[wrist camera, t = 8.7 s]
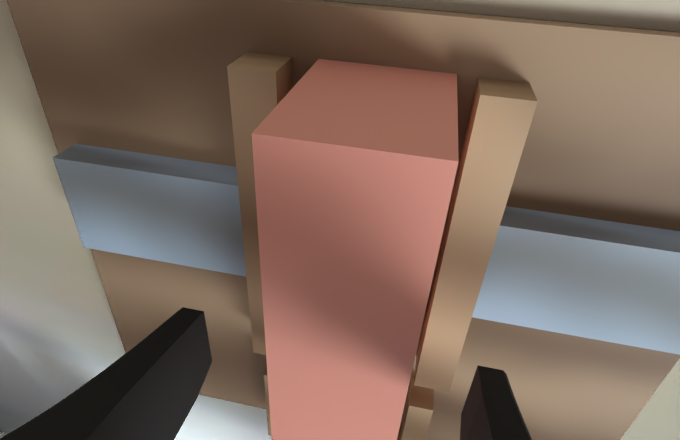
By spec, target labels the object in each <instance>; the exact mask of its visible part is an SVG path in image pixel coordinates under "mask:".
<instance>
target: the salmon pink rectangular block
mask: <svg viewBox="0 0 680 440" xmlns="http://www.w3.org/2000/svg"><path fill="white" fill-rule="evenodd" d="M252 146H253V161H254V177H255V192H256V207H257V223H258V238H259V253H260V268H261V284H262V299H263V314H264V330H265V345H266V360H267V376H268V391H269V406H270V422H271V437H272V440H397V437H398V432H399V428H400V423H401V419H402V414H403V410H404V405H405V401H406V396H407V392H408V387H409V383H410V378H411V374H412V369H413V365H414V360H415V356H416V351H417V347H418V342H419V338H420V333H421V329H422V324H423V320H424V315H425V311H426V306H427V302H428V297H429V293H430V288H431V284H432V279H433V275H434V270H435V266H436V261H437V257H438V252H439V248H440V243H441V239H442V234H443V230H444V225H445V221H446V216H447V212H448V207H449V203H450V198H451V194H452V189H453V185H454V180H455V176H456V171H457V167H458V162H459V155H458V104H457V74H453V73H443V72H434V71H425V70H416V69H407V68H398V67H389V66H380V65H371V64H362V63H353V62H343V61H334V60H325V59H318V60H317V61H316V62H315V64H314V65H313V66H312V67H311V68H310V69H309V70H308V71H307V72H306V74H305V75H304V76H303V77H302V78H301V79H300V80H299V81H298V82H297V84H296V85H295V86H294V87H293V88H292V89H291V90H290V91H289V92H288V94H287V95H286V96H285V97H284V98H283V99H282V100H281V101H280V102H279V104H278V105H277V106H276V107H275V108H274V109H273V110H272V111H271V113H270V114H269V115H268V116H267V117H266V118H265V119H264V120H263V121H262V123H261V124H260V125H259V126H258V127H257V128H256V129H255V130H254V131H253V133H252Z"/></svg>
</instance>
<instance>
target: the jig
mask: <svg viewBox="0 0 680 440" xmlns="http://www.w3.org/2000/svg"><path fill="white" fill-rule="evenodd" d="M7 2H8V5H9V8H10V11H11V14H12V17H13V20H14V23H15V26H16V29H17V32H18V35H19V38H20V41H21V44H22V47H23V50H24V53H25V56H26V59H27V62H28V65H29V68H30V71H31V73H32V76H33V79H34V82H35V85H36V88H37V91H38V94H39V97H40V100H41V103H42V106H43V109H44V112H45V115H46V118H47V121H48V124H49V127H50V130H51V133H52V136H53V139H54V142H55V145H56V148H57V151H58V155H57V156H55V157H53V160H54V163H55V166H56V169H57V172H58V175H59V177H60V180H61V183H62V186H63V189H64V192H65V195H66V198H67V200H68V203H69V206H70V209H71V212H72V215H73V218H74V221H75V223H76V226H77V229H78V232H79V235H80V238H81V241H82V244H83V247H84V248H90V249H91V251H92V254H93V257H94V260H95V263H96V266H97V269H98V272H99V275H100V278H101V281H102V284H103V287H104V290H105V293H106V296H107V299H108V302H109V305H110V308H111V311H112V314H113V317H114V320H115V323H116V326H117V329H118V332H119V335H120V337H121V340H122V343H123V346H124V349H125V352H126V353H127V352H128V351H129V350H131V349H132V348H133V347H134V346H136V345H137V344H138V343H139V342H141V341H142V340H143V339H144V338H146V337H147V336H148V335H149V334H150V333H152V332H153V331H154V330H155V329H157V328H158V327H159V326H160V325H161V324H163V323H164V322H165V321H166V320H167V319H169V318H170V317H171V316H172V315H174V314H175V313H176V312H177V311H178V310H180V309H181V308H183V307H184V308H190V309H195V310H200V311H204V315H205V321H206V327H207V332H208V338H209V344H210V350H211V356H212V363H211V366H210V368H209V371H208V373H207V376H206V378H205V381H204V383H203V385H202V388H201V390H200V392H199V394H200V395H204V396H209V397H213V398H218V399H223V400H227V401H232V402H236V403H241V404H245V405H250V406H254V407H259V408H263V409H267V421H268V434H269V435H271V422H270V406H269V391H268V376H267V360H266V345H265V330H264V314H263V299H262V284H261V268H260V253H259V238H258V223H257V207H256V192H255V177H254V161H253V146H252V133H253V131H254V130H255V129H256V128H257V127H258V126H259V125H260V124H261V123H262V121H263V120H264V119H265V118H266V117H267V116H268V115H269V114H270V113H271V111H272V110H273V109H274V108H275V107H276V106H277V105H278V104H279V102H280V101H281V100H282V99H283V98H284V97H285V96H286V95H287V94H288V92H289V91H290V90H291V89H292V88H293V87H294V86H295V85H296V84H297V82H298V81H299V80H300V79H301V78H302V77H303V76H304V75H305V74H306V72H307V71H308V70H309V69H310V68H311V67H312V66H313V65H314V64H315V62H316V61H317V60H318V59H325V60H334V61H343V62H353V63H362V64H371V65H380V66H389V67H398V68H407V69H416V70H425V71H434V72H443V73H453V74H457V104H458V155H459V162H458V167H457V171H456V176H455V180H454V185H453V189H452V194H451V198H450V203H449V207H448V212H447V216H446V221H445V225H444V230H443V234H442V239H441V243H440V248H439V252H438V257H437V261H436V266H435V270H434V275H433V279H432V284H431V288H430V293H429V297H428V302H427V306H426V311H425V315H424V320H423V324H422V329H421V333H420V338H419V342H418V347H417V351H416V356H415V360H414V365H413V369H412V374H411V378H410V383H409V387H408V392H407V396H406V401H405V405H404V410H403V414H402V419H401V423H400V428H399V432H398V437H397V440H460V427H461V413H462V410H463V407H464V404H465V401H466V398H467V395H468V392H469V390H470V387H471V384H472V381H473V378H474V375H475V372H476V369H477V366H478V365H479V366H484V367H489V368H494V369H499V370H503V371H504V372H505V373H506V374H507V377H508V380H509V383H510V386H511V389H512V391H513V394H514V397H515V399H516V402H517V404H518V407H519V410H520V412H521V414H522V417H523V419H524V422H525V424H526V427H527V429H528V431H529V434H530V436H531V438H532V440H620V439H621V437H622V436H623V435H624V433H625V432H626V431H627V429H628V428H629V426H630V425H631V424H632V422H633V421H634V420H635V418H636V417H637V415H638V414H639V413H640V411H641V410H642V409H643V407H644V406H645V405H646V403H647V402H648V400H649V399H650V398H651V396H652V395H653V394H654V392H655V391H656V389H657V388H658V387H659V385H660V384H661V383H662V381H663V380H664V379H665V377H666V376H667V374H668V373H669V372H670V370H671V369H672V368H673V366H674V365H675V363H676V362H677V361H678V359H679V358H680V33H679V32H668V31H657V30H646V29H635V28H623V27H612V26H601V25H590V24H579V23H567V22H556V21H545V20H534V19H523V18H511V17H500V16H489V15H478V14H467V13H456V12H444V11H433V10H422V9H411V8H400V7H388V6H377V5H366V4H355V3H344V2H332V1H321V0H7Z"/></svg>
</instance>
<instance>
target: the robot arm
mask: <svg viewBox="0 0 680 440" xmlns="http://www.w3.org/2000/svg"><path fill="white" fill-rule="evenodd" d="M211 363H212V356H211V350H210V344H209V338H208V332H207V327H206V321H205V315H204V311H200V310H195V309H190V308H184V307H183V308H181V309H180V310H178V311H177V312H176V313H175V314H174V315H172V316H171V317H170V318H169V319H167V320H166V321H165V322H164V323H163V324H161V325H160V326H159V327H158V328H157V329H155V330H154V331H153V332H152V333H150V334H149V335H148V336H147V337H146V338H144V339H143V340H142V341H141V342H139V343H138V344H137V345H136V346H134V347H133V348H132V349H131V350H129V351H128V352H127V353H126V354H124V355H123V356H122V357H120V358H119V359H118V360H117V361H115V362H114V363H113V364H112V365H110V366H109V367H108V368H106V369H105V370H104V371H102V372H101V373H100V374H98V375H97V376H95V377H94V378H93V379H91V380H90V381H89V382H87V383H86V384H84V385H83V386H82V387H80V388H79V389H78V390H76V391H75V392H73V393H72V394H70V395H69V396H68V397H66V398H65V399H63V400H62V401H60V402H59V403H57V404H56V405H54V406H53V407H51V408H50V409H48V410H46V411H45V412H43V413H42V414H40V415H39V416H37V417H35V418H34V419H32V420H31V421H29V422H27V423H26V424H24V425H22V426H21V427H19V428H17V429H16V430H14V431H12V432H11V433H9V434H7V435H5V436H4V437H2V438H0V440H174V438H175V437H176V435H177V433H178V431H179V429H180V428H181V426H182V424H183V422H184V421H185V419H186V417H187V415H188V413H189V412H190V410H191V408H192V406H193V404H194V402H195V401H196V399H197V397H198V394H199V392H200V390H201V388H202V385H203V383H204V381H205V378H206V376H207V373H208V371H209V368H210V366H211ZM460 440H532V438H531V436H530V434H529V431H528V429H527V427H526V424H525V422H524V419H523V417H522V414H521V412H520V410H519V407H518V404H517V402H516V399H515V397H514V394H513V391H512V389H511V386H510V383H509V380H508V377H507V374H506V373H505V372H504V371H503V370H499V369H494V368H489V367H484V366H479V365H478V366H477V369H476V372H475V375H474V378H473V381H472V384H471V387H470V390H469V392H468V395H467V398H466V401H465V404H464V407H463V410H462V413H461V427H460Z"/></svg>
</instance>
